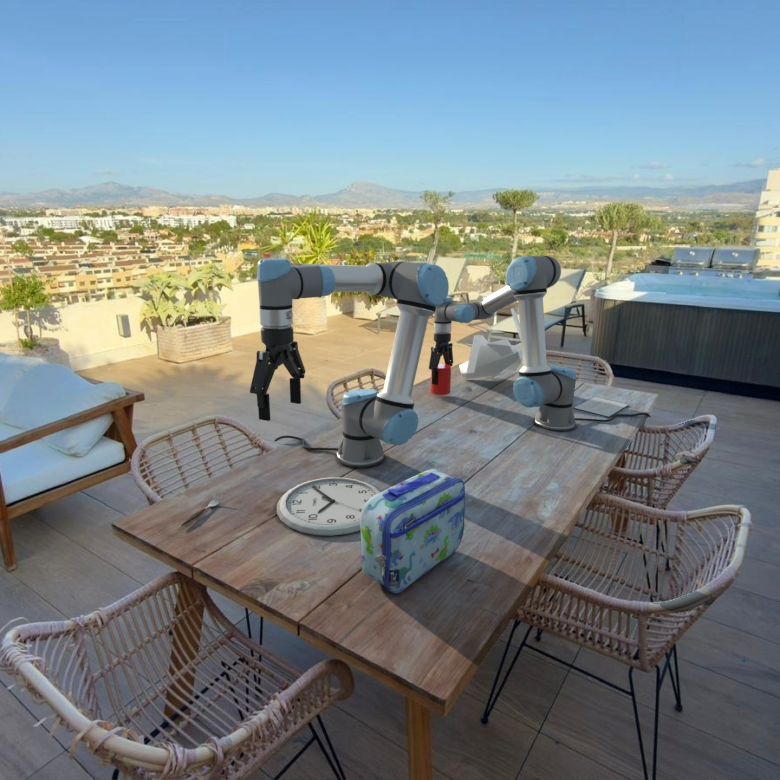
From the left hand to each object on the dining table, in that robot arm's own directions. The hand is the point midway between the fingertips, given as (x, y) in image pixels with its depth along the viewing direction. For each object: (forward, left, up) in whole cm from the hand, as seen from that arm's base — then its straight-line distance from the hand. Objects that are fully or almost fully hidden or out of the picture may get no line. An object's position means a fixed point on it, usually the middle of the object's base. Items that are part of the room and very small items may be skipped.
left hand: (280, 411), depth 130 cm
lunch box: (+39, -8, -29) cm, 49 cm away
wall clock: (+9, +9, -29) cm, 32 cm away
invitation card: (+75, +130, -29) cm, 153 cm away
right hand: (+7, +115, -22) cm, 117 cm away
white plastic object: (+28, +142, -29) cm, 148 cm away
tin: (+7, +115, -27) cm, 118 cm away
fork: (-20, -8, -29) cm, 36 cm away
